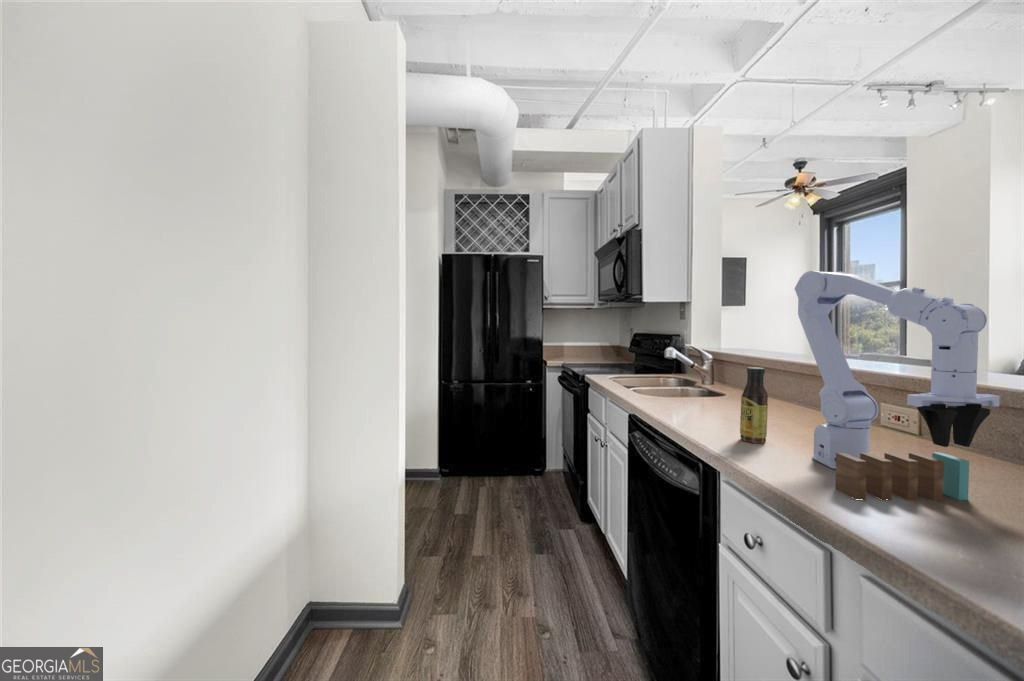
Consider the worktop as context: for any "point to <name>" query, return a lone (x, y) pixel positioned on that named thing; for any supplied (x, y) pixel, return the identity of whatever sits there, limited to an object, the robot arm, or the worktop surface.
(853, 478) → the domino
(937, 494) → the domino
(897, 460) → the domino
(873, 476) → the domino
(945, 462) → the domino
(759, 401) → the sauce bottle
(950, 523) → the worktop surface
